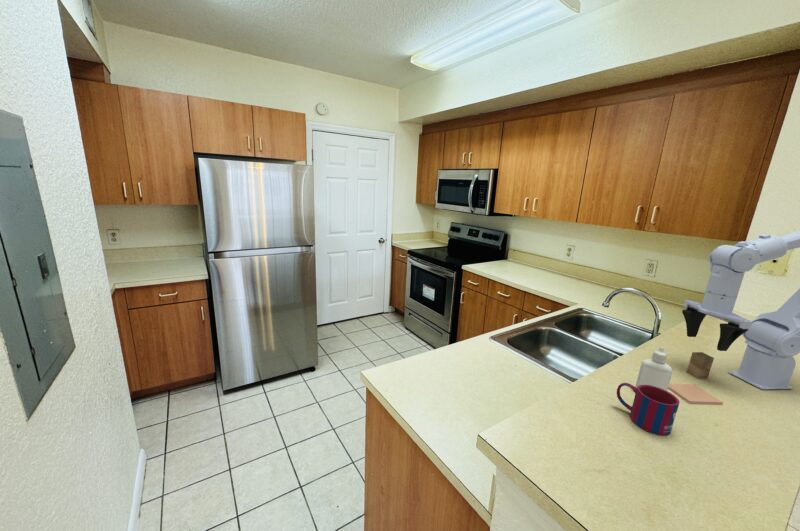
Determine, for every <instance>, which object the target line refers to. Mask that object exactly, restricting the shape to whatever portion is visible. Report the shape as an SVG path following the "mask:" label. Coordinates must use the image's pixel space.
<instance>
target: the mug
mask: <svg viewBox="0 0 800 531" xmlns="http://www.w3.org/2000/svg"><path fill="white" fill-rule="evenodd" d="M622 387H628V388H630V389H631V390H632V392H634V399H633V402H632V405H629V404H628V403H627V402H626V401H625V400H624V399H623V398H622V396H621V388H622ZM616 397H617V399H618V401H619V402H620V403H621V405H623V406H624V407H625V408H626V409H627V410H628V411H630V413H629V414H630V415H629V417H630V420H631V422H632V423H633V424H634V425H636V426H637V427H638V428H641V429H642V430H643V431H646V432H648V433H651V434H653V435H657V436H668V435H670V434H671V432H672V429H673V426H674V422H675V420H676V417H677V416H676V415H677V413H678V409H679V405H680V400H679V398H678V396H675V395H674V393H671V391H670V392H669V391H668V390H667V391H666V390H664V389H661V388H658V387H655V386H651V385H639V386H638V387H637V388H636V386H634V385H633V384H630V383H628V382H621V383H620V384H619V385H618V386H617V389H616Z"/></svg>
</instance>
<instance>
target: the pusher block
mask: <svg viewBox="0 0 800 531" xmlns="http://www.w3.org/2000/svg"><path fill="white" fill-rule="evenodd" d="M714 359H715V357H714V356H711V355H709V354H707V353H704V352H702V351H692V353H691V356H690V359H689V363H688V366H687V369H686V374H688V375H689V376H691V377H693V378H696V379H698V380H702V379H705V380H706V379H707V380H708V377H709V375H710V372H711V370H712V369H711V368H712V366H713V363H714Z"/></svg>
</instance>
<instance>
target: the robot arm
mask: <svg viewBox="0 0 800 531" xmlns="http://www.w3.org/2000/svg"><path fill="white" fill-rule="evenodd" d="M799 248H800V229H799V230H796V231H791V232H790V233H788V234H787V233H786V234H784V235H781V236H777V235H774V234H766V233H763V234H759V235H758V237H757V238H753V239H750V240H747V241H744V240H743V241H742V240H741V241H737V243H736V244H734V245H730V244H722V245H719V246H717V247H715V248H714V249H713V250H712V252H711V253H709V254H708V259H707V260H708V263H710V267H709V270H710V274H709V279H708V282H707V285H706V288H705V292H704V295H703V299H702V302H698V301H694V300H693V299H692V300H690V299H689V300H688V299H685V300H684V303H683V306H682V307H683V308H686V309H682V310H681V313H682V316H683V318H684V321H685V327H686V336H687V337H688V338H696V337H697V335H698V333H699V330H700V327H701V325H702V323H703V321H704V319H705V318H706V316H709V317H712V318H715V319H719V320H720V321H723V322H726V323H719V338H718V342H717V344H716V345H717V346H716V350H717V351H719V352H727V351H728V350H729V348H730V347H731V345H733V343H734V342H735V341H736V340H737V339H738V338H739V337H740V336H742V337H743V338H744V339H745V342H744V343H745V344H747V345H746V347H745V350H744V352H743V355H742V360H741V362H740V364H739V368H738V370H728V371H727V372H728V373H729V374H731V375H732V376H734V377H736V378H739V379H741V380H742V381H744V382H746V383H749V384H750V385H753V386H754V387H755V388H758V389H760V390H789V389H790V390H792V389H793V386H791V385H789V384H790V381H791V379H792V377H793V373H794V371H795V369H796V366H797V362H796V360H795V356H797V355H799V354H800V287H799V288H798V289H797V290H796V291H795V292H794V293H793V294H792V295H791V296H790V297H789V298H788V299H787V300H786V301H785V302H784V303H783V304H782V305H780V307H779V308H778V309H777V310H775V311H770V312H769V311H768V312H765V313H764V312H763V313H760V314H759V315H758V316H757V317H756V318H754V319H751V320H750V319H748V318H745V317H743V316H742V315H741V316H740V315H739V314H736V313H734V312H733V311H734V308H735V305H736V302H737V298H738V294H739V292H740V289H741V286H742V283H743V281H744V280H743V279H744V277H745V273H746V272H749V271H751V270H753V269H754V268H755V266H757V265H759V264H761V263H765V262H768V261H772V260H775V259H779V258H782V257H784V256H785V255H786V254H787V252H788V251H790V250H794V249H799Z"/></svg>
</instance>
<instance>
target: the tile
mask: <svg viewBox="0 0 800 531" xmlns="http://www.w3.org/2000/svg"><path fill="white" fill-rule="evenodd" d="M667 390H669V391H670V392H672V394H675V395H676V397H679V398H680V399H681V400H683V401H684V402H685V403H687V404H688V405H709V406H714V405H715V406H723V403H724V402H723V401H722V400H721V399H718V398H717V397H715V396H714V395H712V394H711V393H709V392H708V391H706V390H704V389H703V388H701V387H699V386H698V385H696V384H692V383H690V384H689V383H688V384H687V383H669V386H668V389H667Z"/></svg>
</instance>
